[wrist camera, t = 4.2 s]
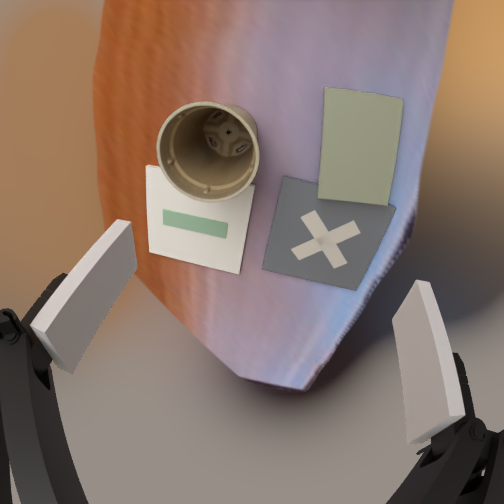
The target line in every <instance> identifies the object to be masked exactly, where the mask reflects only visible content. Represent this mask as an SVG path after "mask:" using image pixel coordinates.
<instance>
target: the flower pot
mask: <svg viewBox="0 0 504 504" xmlns="http://www.w3.org/2000/svg"><path fill="white" fill-rule="evenodd" d="M219 112H221V113H222V114H220V115H219V117H218V116H217V117H215V118H214V117H213V116H214V115H216V114H217V113H219ZM227 131H230V134H227ZM210 138H213V140H214V141H215V143H216V144H217V146H216V147H215V146H213V145H212V143H211V141H210ZM243 145H246V147H245V148H244V149H243V150H241V151H240V152H237V151H236V150H237V149H238V148H240V147H242V146H243ZM157 158H158V162H159V165H160V168H161V170H162V172H163V174H164V176H165V177H166V179H167V180H168V181H169V182H170V184H172V186H173V187H174V188H176V189H177V190H178V191H179V192H181V193H182V194H184V195H186V196H188V197H190V198H192V199H194V200H197V201H202V202H209V203H214V202H222V201H226V200H229V199H232V198H234V197H236V196H238V195H239V194H241V193H242V192H243V191H244V190H246V188H247V187H248V186H249V185H250V184H251V182H252V181H253V179H254V177H255V175H256V173H257V170H258V166H259V159H260V153H259V146H258V141H257V127H256V124H255V121H254V119H253V118H252V116H251V115H250V114H249V113H248V112H247V111H245V110H244V109H242V108H240V107H237V106H234V105H222V104H219V103H215V102H196V103H191V104H188V105H185V106H183V107H181V108H179V109H177V110H176V111H175V112H174V113H172V114H171V115H170V116H169V117H168V118H167V120H166V121H165V122H164V124H163V125H162V127H161V129H160V132H159V135H158V139H157Z"/></svg>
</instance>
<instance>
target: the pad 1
mask: <svg viewBox="0 0 504 504" xmlns="http://www.w3.org/2000/svg"><path fill="white" fill-rule="evenodd" d="M254 190H255V185H254V184H250V185H249V186H248V187H247V188H246V190H244V191H243V192H242V193H241V194H239V195H238V196H236V197H234V198H232V199H229V200H226V201H222V202H214V203H209V202H202V201H197V200H194V199H192V198H190V197H188V196H186V195H184V194H182V193H181V192H179V191H178V190H177V189H176V188H174V187H173V186H172V184H170V182H169V181H168V180H167V179H166V177H165V176H164V174H163V172H162V170H161V168H160V167H159V166H153V165H147V166H146V197H147V221H148V238H149V252H151V253H155V254H159V255H163V256H167V257H171V258H175V259H178V260H182V261H186V262H190V263H194V264H198V265H202V266H206V267H210V268H214V269H218V270H223V271H227V272H231V273H235V274H239V272H240V267H241V261H242V256H243V250H244V245H245V239H246V233H247V228H248V222H249V217H250V211H251V206H252V200H253V195H254Z"/></svg>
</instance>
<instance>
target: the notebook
mask: <svg viewBox="0 0 504 504" xmlns="http://www.w3.org/2000/svg"><path fill="white" fill-rule="evenodd" d="M402 110H403V99H401V98H398V97H393V96H387V95H382V94H376V93H370V92H364V91H357V90H349V89H341V88H332V87H324V100H323V120H322V137H321V151H320V164H319V177H318V188H317V195H318V198H322V199H332V200H342V201H352V202H361V203H369V204H378V205H386V206H388V201H389V196H390V191H391V186H392V180H393V175H394V169H395V163H396V156H397V150H398V143H399V135H400V128H401V119H402Z"/></svg>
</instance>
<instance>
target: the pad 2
mask: <svg viewBox="0 0 504 504" xmlns="http://www.w3.org/2000/svg"><path fill="white" fill-rule="evenodd" d="M317 188H318V184H316V183H313V182H309V181H305V180H301V179H297V178H292V177H288V176H283V181H282V185H281V189H280V194H279V198H278V202H277V207H276V211H275V215H274V219H273V224H272V228H271V232H270V236H269V240H268V245H267V249H266V253H265V257H264V261H263V266H262V269H263V270H268V271H272V272H276V273H281V274H285V275H289V276H293V277H298V278H302V279H306V280H311V281H315V282H319V283H324V284H328V285H333V286H337V287H342V288H346V289H350V290H355V291H356V290H357V288H358V286H359V284H360V282H361V280H362V278H363V276H364V275H365V273H366V271H367V269H368V267H369V265H370V263H371V261H372V259H373V257H374V255H375V253H376V251H377V249H378V247H379V244H380V242H381V240H382V238H383V236H384V234H385V232H386V230H387V227H388V225H389V223H390V221H391V219H392V216H393V214H394V212H395V210H396V207H395V206H393V205H390V204H388V206H386V205H378V204H369V203H361V202H352V201H342V200H332V199H322V198H318V195H317Z"/></svg>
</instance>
